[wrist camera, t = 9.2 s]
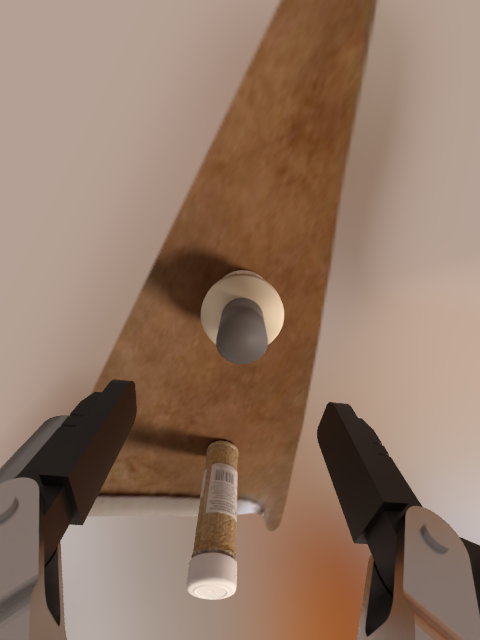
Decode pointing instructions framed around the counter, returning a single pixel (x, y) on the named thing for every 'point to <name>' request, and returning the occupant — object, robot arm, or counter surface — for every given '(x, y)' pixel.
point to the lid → (242, 316)
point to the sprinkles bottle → (216, 526)
